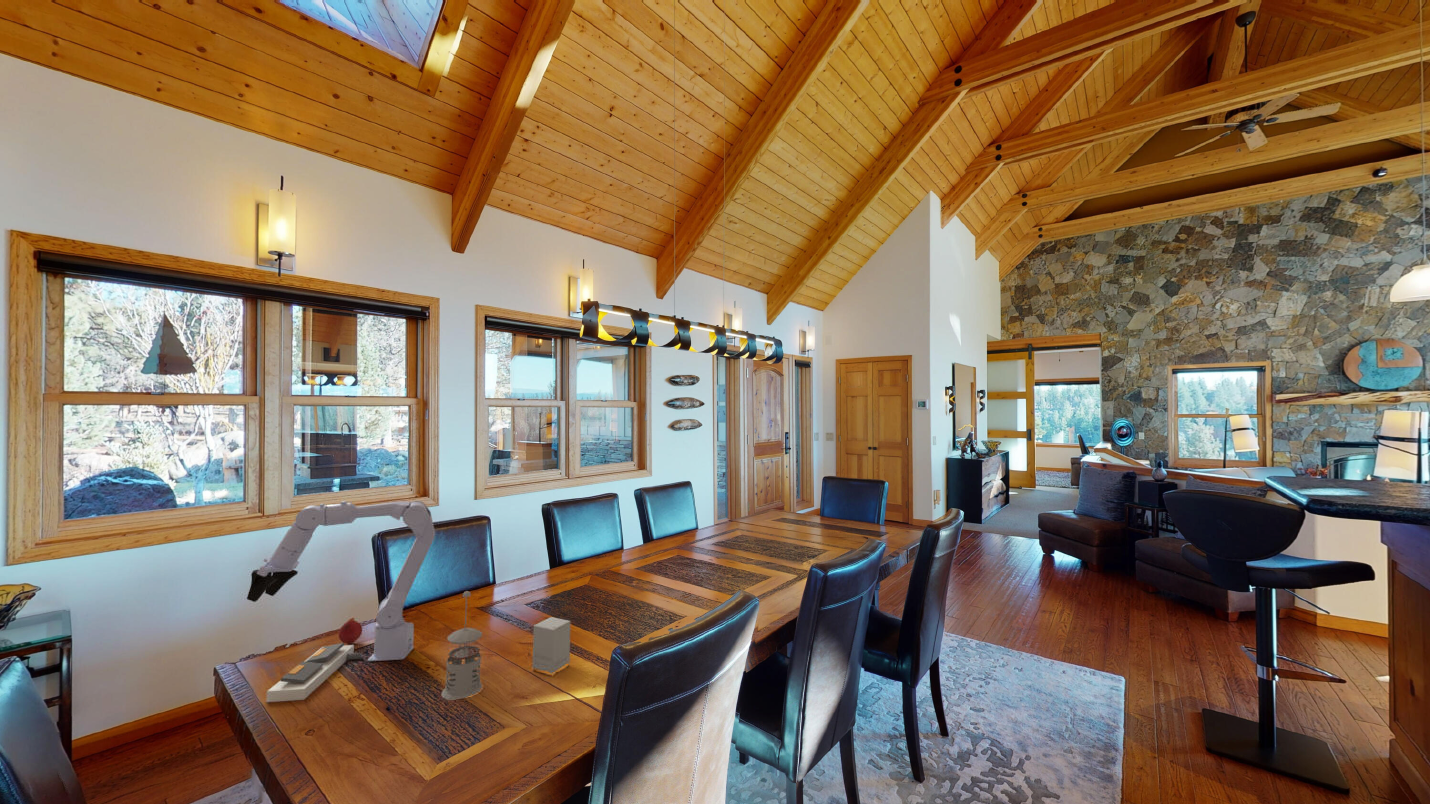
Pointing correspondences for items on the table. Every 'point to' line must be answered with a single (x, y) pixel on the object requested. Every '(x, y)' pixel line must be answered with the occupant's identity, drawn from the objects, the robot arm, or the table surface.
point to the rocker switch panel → (302, 690)
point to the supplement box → (551, 644)
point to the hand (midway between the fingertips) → (260, 597)
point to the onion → (350, 631)
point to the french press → (463, 676)
